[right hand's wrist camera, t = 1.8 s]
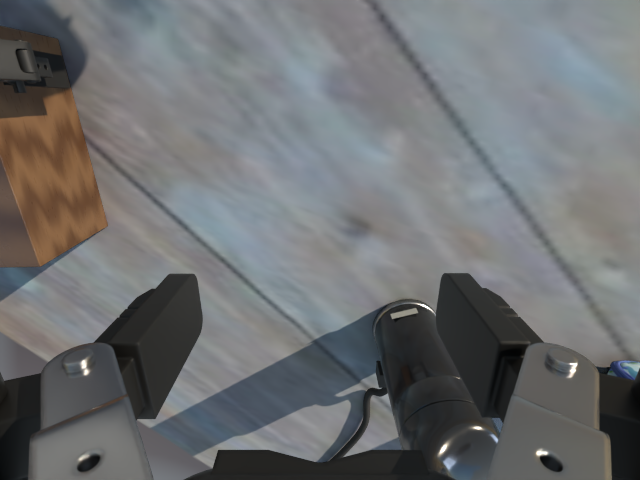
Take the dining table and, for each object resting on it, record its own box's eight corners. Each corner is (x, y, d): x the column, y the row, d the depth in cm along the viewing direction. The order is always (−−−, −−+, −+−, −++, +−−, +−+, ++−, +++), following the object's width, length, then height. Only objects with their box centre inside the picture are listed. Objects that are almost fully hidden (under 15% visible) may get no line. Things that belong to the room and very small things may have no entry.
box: (108, 226, 43) (40, 267, 33) (60, 226, 43) (-23, 268, 33) (58, 38, 36) (-53, 13, 25) (-1, 39, 36) (-136, 14, 25)
